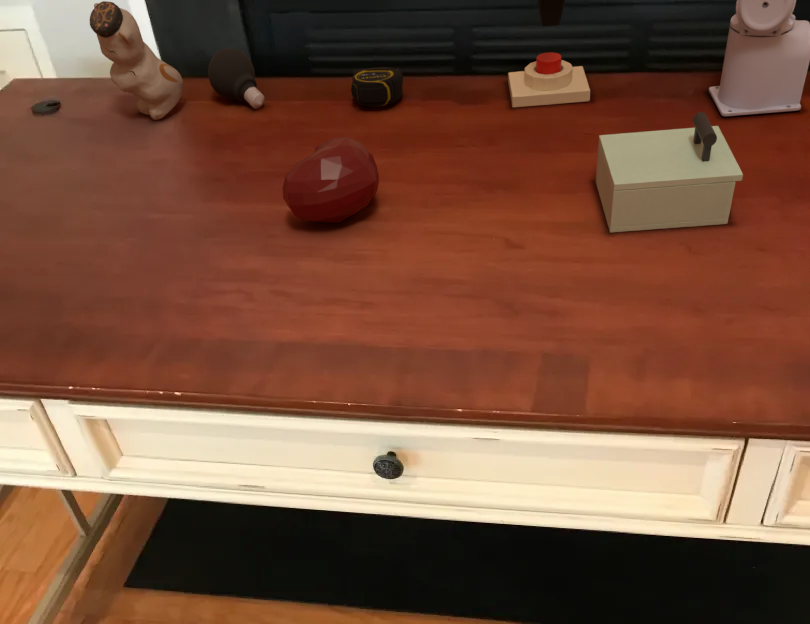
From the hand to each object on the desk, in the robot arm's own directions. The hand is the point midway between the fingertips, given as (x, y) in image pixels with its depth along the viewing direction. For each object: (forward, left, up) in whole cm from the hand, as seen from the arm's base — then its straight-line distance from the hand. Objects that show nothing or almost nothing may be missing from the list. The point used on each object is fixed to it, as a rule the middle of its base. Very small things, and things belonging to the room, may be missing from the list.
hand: (550, 23), depth 113 cm
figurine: (+54, -3, -9) cm, 55 cm away
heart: (+26, +28, -9) cm, 39 cm away
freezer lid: (-9, +31, -4) cm, 33 cm away
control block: (0, 0, -8) cm, 8 cm away
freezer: (-9, +31, -8) cm, 33 cm away
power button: (0, 0, -6) cm, 6 cm away
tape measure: (+23, -2, -9) cm, 25 cm away
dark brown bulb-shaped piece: (+42, -6, -9) cm, 43 cm away
